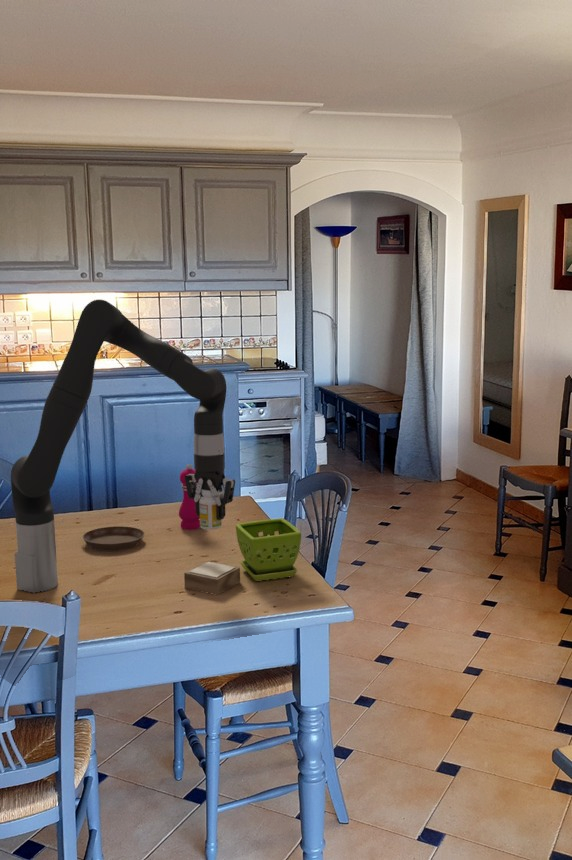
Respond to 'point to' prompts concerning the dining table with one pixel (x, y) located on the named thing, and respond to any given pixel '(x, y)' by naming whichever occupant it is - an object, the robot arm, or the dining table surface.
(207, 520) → the supplement bottle
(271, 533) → the flower pot
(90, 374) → the robot arm
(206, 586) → the pedestal
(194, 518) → the pepper mill
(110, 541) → the plant saucer
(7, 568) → the dining table surface
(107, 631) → the dining table surface
